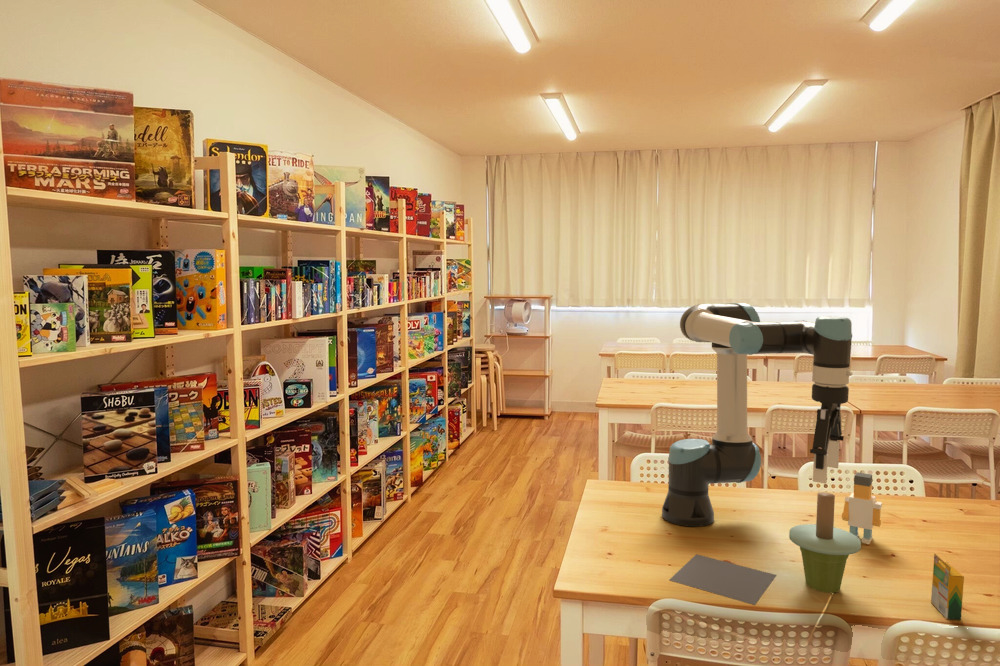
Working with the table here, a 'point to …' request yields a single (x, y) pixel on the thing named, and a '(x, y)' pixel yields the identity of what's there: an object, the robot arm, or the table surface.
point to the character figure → (862, 507)
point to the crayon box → (947, 589)
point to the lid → (825, 532)
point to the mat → (724, 579)
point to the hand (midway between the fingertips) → (825, 474)
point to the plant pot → (823, 570)
